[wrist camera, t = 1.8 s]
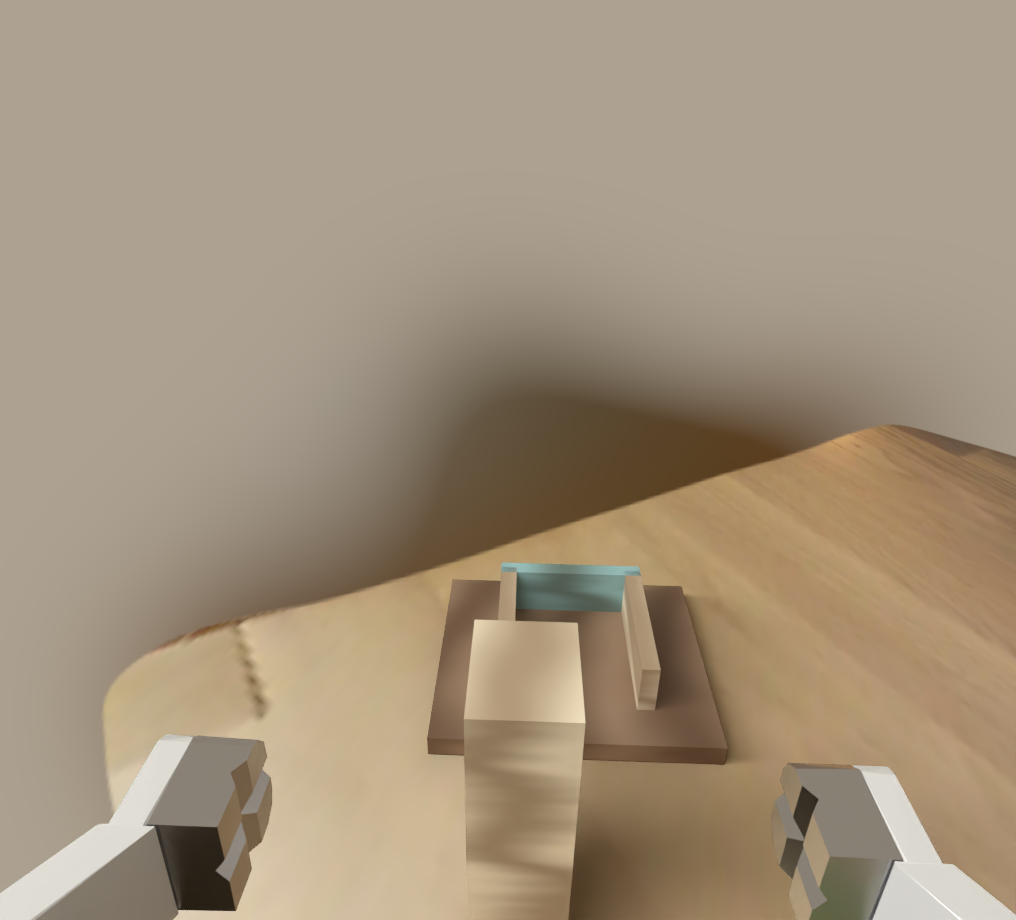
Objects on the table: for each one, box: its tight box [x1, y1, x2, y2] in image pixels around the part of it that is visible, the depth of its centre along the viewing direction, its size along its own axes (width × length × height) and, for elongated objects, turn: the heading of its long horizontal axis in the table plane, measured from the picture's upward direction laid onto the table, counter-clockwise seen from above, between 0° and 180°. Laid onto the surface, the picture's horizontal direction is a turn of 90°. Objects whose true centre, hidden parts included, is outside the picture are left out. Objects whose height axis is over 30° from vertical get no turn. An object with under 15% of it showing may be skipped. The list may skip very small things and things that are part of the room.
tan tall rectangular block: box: [464, 620, 586, 920], centre depth 30 cm, size 4×5×14 cm
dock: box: [427, 563, 728, 764], centre depth 45 cm, size 16×14×4 cm
